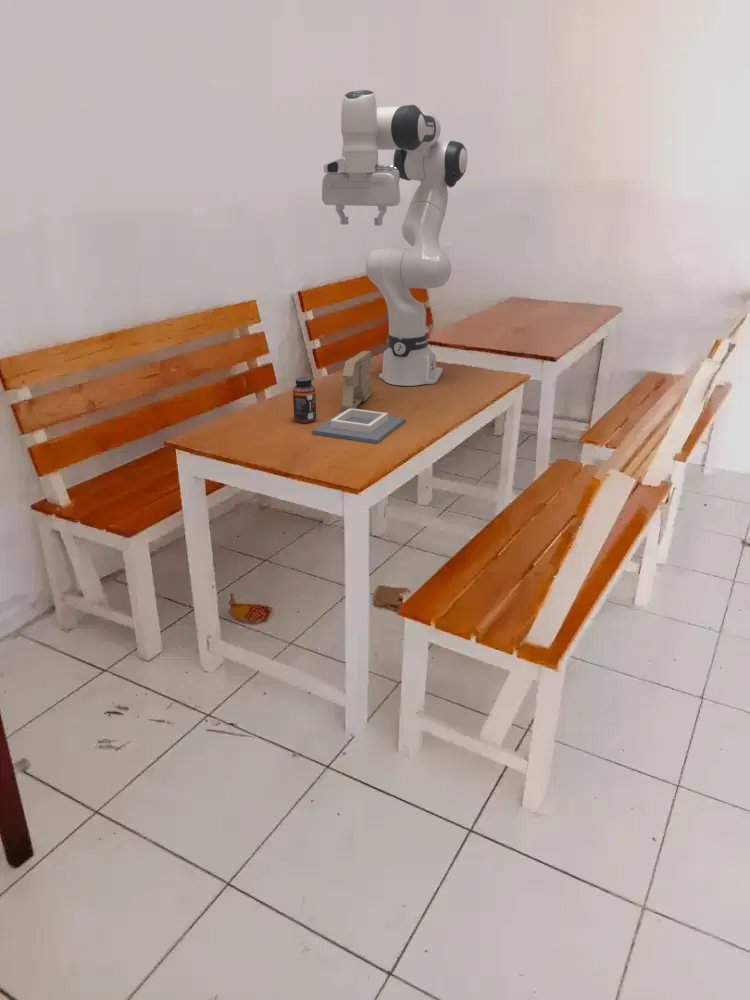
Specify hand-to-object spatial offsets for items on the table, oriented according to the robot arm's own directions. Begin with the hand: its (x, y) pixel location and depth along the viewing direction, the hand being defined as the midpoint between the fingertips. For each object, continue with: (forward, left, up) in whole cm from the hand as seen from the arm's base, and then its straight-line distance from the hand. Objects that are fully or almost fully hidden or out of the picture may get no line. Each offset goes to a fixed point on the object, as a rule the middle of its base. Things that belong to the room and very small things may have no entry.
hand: (361, 224), depth 198 cm
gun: (-2, -3, -49) cm, 49 cm away
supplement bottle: (+15, -10, -48) cm, 52 cm away
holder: (+15, +6, -48) cm, 51 cm away
